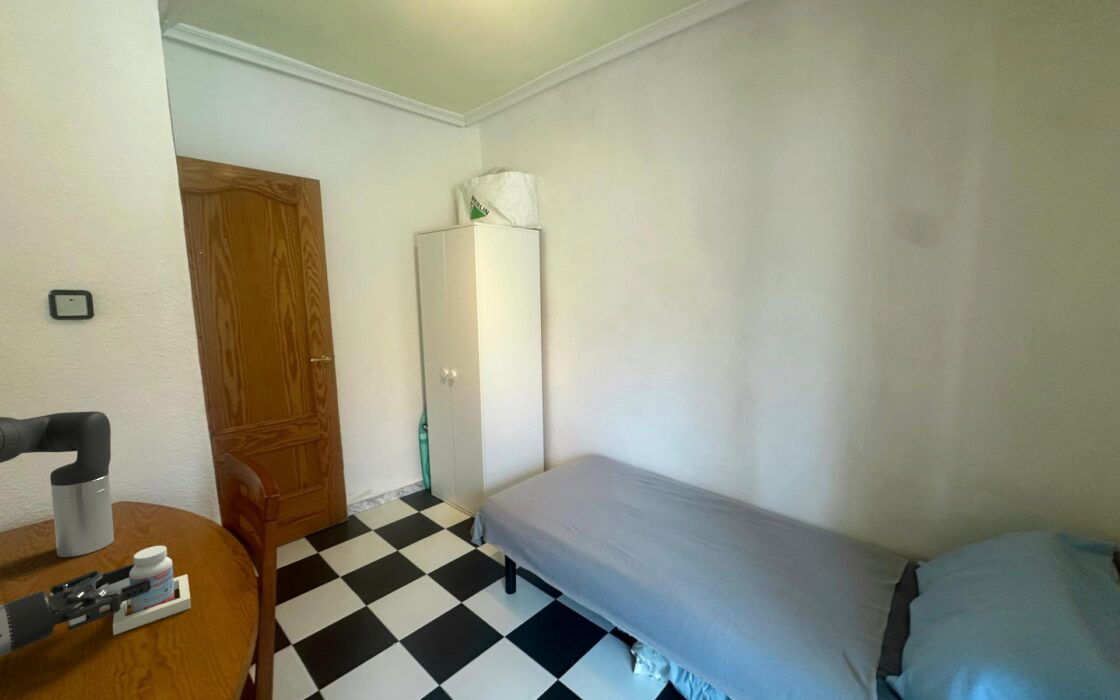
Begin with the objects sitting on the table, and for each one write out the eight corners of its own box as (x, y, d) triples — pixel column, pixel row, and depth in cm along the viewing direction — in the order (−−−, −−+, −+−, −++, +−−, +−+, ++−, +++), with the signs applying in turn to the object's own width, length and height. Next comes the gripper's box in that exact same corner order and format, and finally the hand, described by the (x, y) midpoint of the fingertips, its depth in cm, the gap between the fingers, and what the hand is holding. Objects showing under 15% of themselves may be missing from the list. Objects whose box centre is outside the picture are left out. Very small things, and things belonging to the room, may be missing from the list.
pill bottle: (148, 620, 79) (144, 562, 78) (123, 615, 80) (118, 558, 79) (183, 599, 85) (179, 545, 84) (159, 594, 86) (155, 541, 85)
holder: (117, 605, 83) (116, 596, 82) (187, 583, 90) (187, 574, 90) (113, 635, 75) (112, 624, 75) (190, 607, 82) (190, 598, 82)
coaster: (87, 590, 87) (87, 588, 87) (142, 574, 92) (142, 572, 92) (83, 610, 81) (82, 607, 81) (141, 592, 87) (141, 589, 87)
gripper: (8, 625, 63) (154, 569, 77) (-7, 591, 70) (128, 546, 84) (13, 671, 64) (156, 608, 77) (-3, 633, 71) (131, 582, 85)
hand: (142, 576), depth 81 cm, fingers open, 8 cm apart
